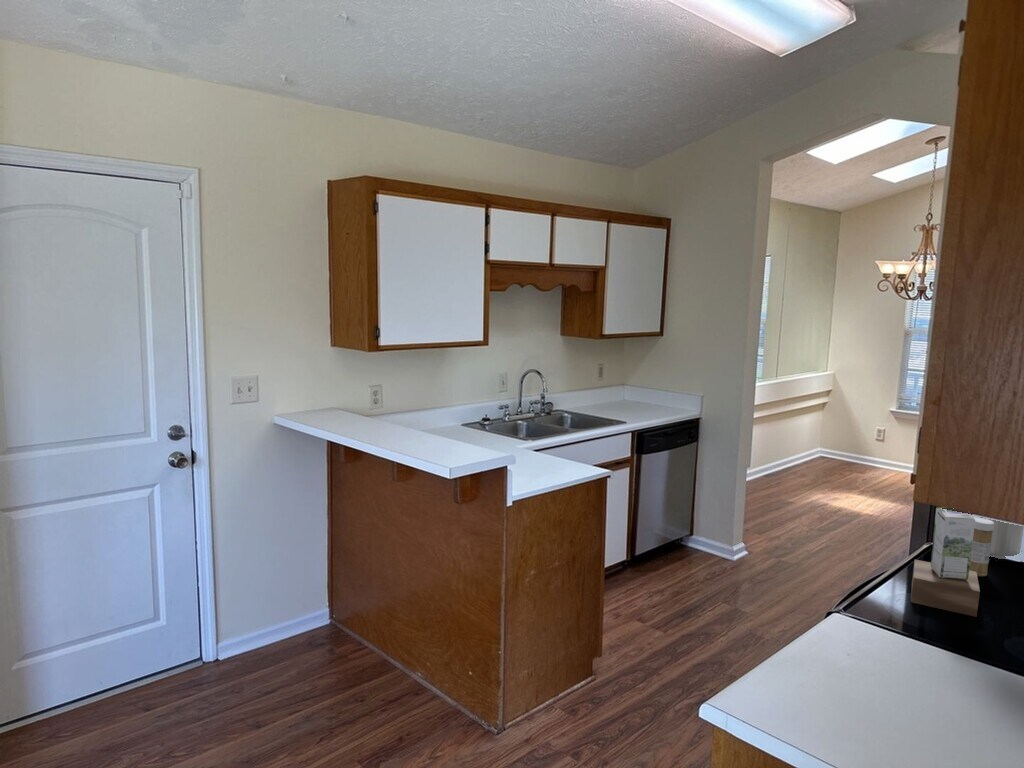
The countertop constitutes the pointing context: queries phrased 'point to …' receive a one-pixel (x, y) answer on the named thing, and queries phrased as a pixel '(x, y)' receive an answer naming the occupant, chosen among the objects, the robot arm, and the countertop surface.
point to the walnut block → (944, 590)
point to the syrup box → (952, 544)
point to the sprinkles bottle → (981, 546)
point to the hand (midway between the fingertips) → (985, 429)
